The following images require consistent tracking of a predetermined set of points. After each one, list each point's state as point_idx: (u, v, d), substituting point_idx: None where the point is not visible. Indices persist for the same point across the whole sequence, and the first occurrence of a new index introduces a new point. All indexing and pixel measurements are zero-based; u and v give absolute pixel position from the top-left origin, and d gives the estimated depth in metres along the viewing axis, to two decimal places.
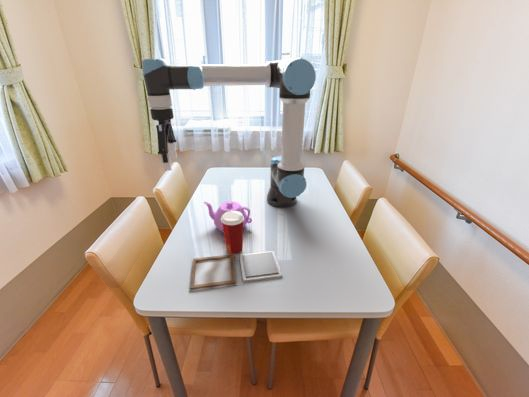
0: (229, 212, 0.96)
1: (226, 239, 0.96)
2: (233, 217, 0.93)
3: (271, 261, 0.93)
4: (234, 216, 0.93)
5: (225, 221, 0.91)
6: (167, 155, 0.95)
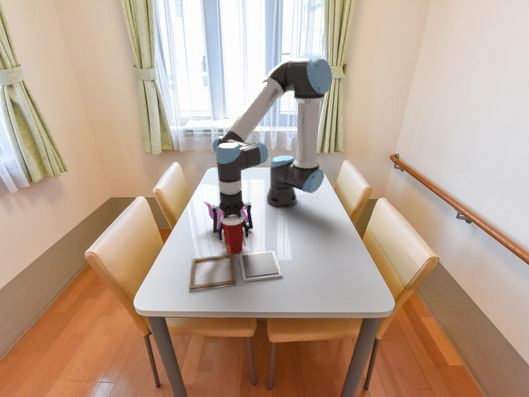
0: None
1: (226, 239, 0.96)
2: (232, 217, 0.93)
3: (271, 261, 0.93)
4: (234, 216, 0.93)
5: (225, 221, 0.91)
6: (221, 234, 0.96)
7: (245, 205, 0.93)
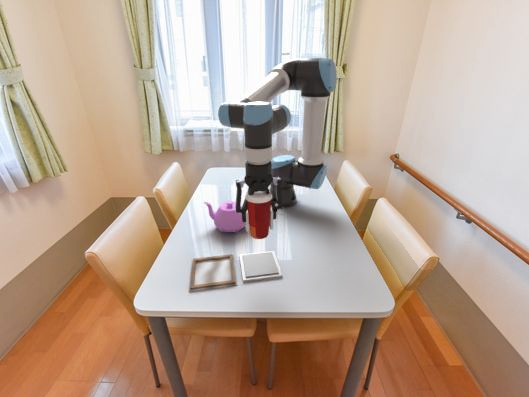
0: None
1: (250, 221, 0.81)
2: (259, 194, 0.78)
3: (271, 261, 0.93)
4: (261, 193, 0.79)
5: (251, 198, 0.77)
6: (245, 215, 0.81)
7: (275, 180, 0.78)
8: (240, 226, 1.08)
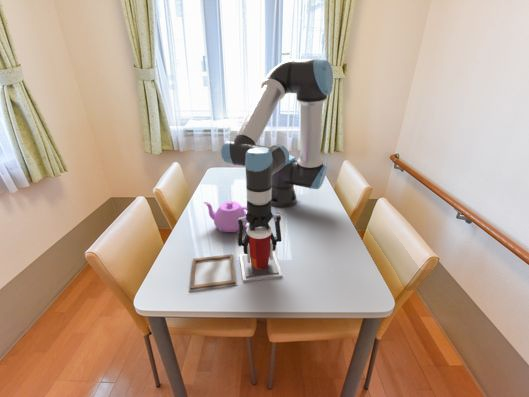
0: None
1: (251, 253, 0.87)
2: (260, 229, 0.84)
3: (271, 261, 0.93)
4: (261, 228, 0.84)
5: (252, 234, 0.82)
6: (247, 248, 0.87)
7: (274, 216, 0.84)
8: None
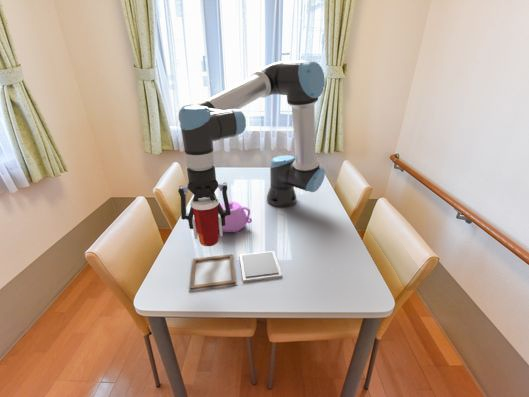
0: None
1: (197, 227, 0.79)
2: (205, 200, 0.76)
3: (271, 261, 0.93)
4: (206, 199, 0.76)
5: (195, 205, 0.74)
6: None
7: (220, 186, 0.76)
8: (240, 226, 1.08)
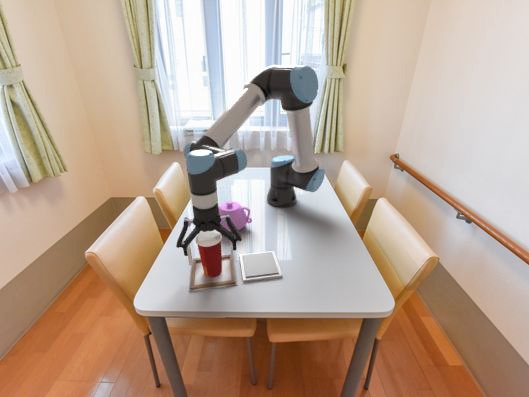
0: None
1: (202, 261, 0.85)
2: (208, 236, 0.82)
3: (271, 261, 0.93)
4: (210, 236, 0.82)
5: (199, 242, 0.81)
6: (187, 250, 0.83)
7: (223, 218, 0.81)
8: (240, 226, 1.08)
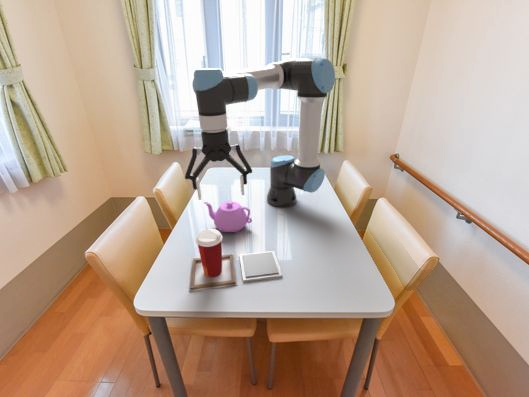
0: (206, 231, 0.85)
1: (202, 261, 0.85)
2: (209, 237, 0.82)
3: (271, 261, 0.93)
4: (211, 236, 0.82)
5: (200, 242, 0.81)
6: (196, 182, 0.80)
7: (233, 147, 0.78)
8: (240, 226, 1.08)
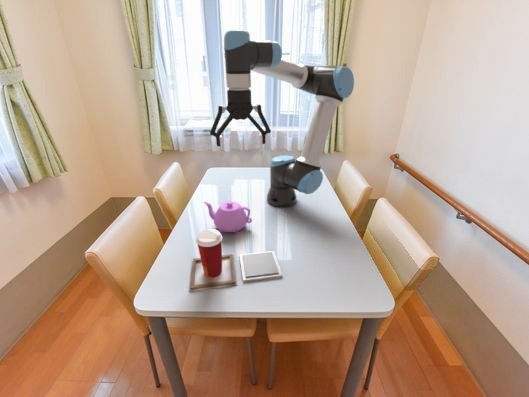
0: (206, 231, 0.85)
1: (202, 261, 0.85)
2: (209, 237, 0.82)
3: (271, 261, 0.93)
4: (211, 236, 0.82)
5: (200, 242, 0.81)
6: (219, 139, 0.88)
7: (254, 107, 0.86)
8: (240, 226, 1.08)
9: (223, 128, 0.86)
